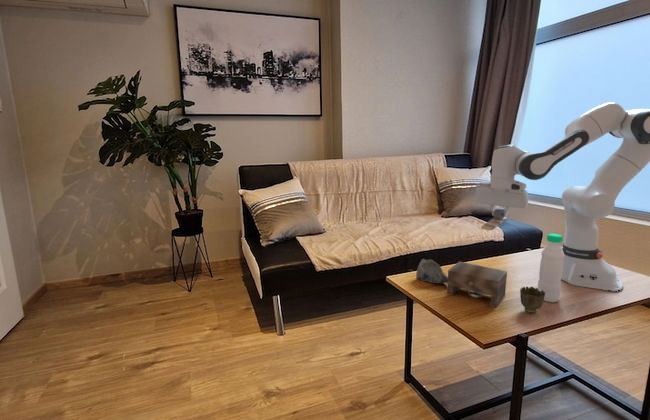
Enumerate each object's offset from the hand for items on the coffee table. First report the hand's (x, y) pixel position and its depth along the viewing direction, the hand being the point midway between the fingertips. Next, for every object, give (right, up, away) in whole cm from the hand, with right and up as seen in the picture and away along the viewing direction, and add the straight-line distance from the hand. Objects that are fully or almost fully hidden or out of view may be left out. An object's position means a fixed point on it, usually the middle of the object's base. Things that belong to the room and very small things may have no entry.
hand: (499, 216), depth 148 cm
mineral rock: (-29, -29, -1) cm, 41 cm away
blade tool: (-4, -3, -5) cm, 7 cm away
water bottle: (+9, -31, -18) cm, 37 cm away
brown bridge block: (-16, -31, -13) cm, 37 cm away
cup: (-3, -33, -27) cm, 43 cm away
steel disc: (-16, -31, -13) cm, 37 cm away
